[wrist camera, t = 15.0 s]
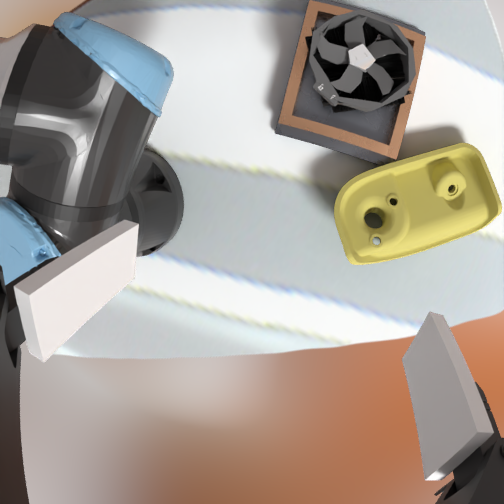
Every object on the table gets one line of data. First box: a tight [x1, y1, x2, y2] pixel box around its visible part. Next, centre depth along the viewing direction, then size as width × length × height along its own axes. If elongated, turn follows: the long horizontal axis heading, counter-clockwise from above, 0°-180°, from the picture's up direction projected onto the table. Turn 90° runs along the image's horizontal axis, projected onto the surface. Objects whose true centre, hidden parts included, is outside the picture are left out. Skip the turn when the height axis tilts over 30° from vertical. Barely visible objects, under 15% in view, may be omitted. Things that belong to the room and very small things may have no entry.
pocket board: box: [275, 0, 426, 166], centre depth 30 cm, size 14×18×3 cm
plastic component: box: [334, 143, 502, 265], centre depth 34 cm, size 20×7×10 cm
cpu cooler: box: [305, 9, 416, 113], centre depth 26 cm, size 10×6×10 cm
